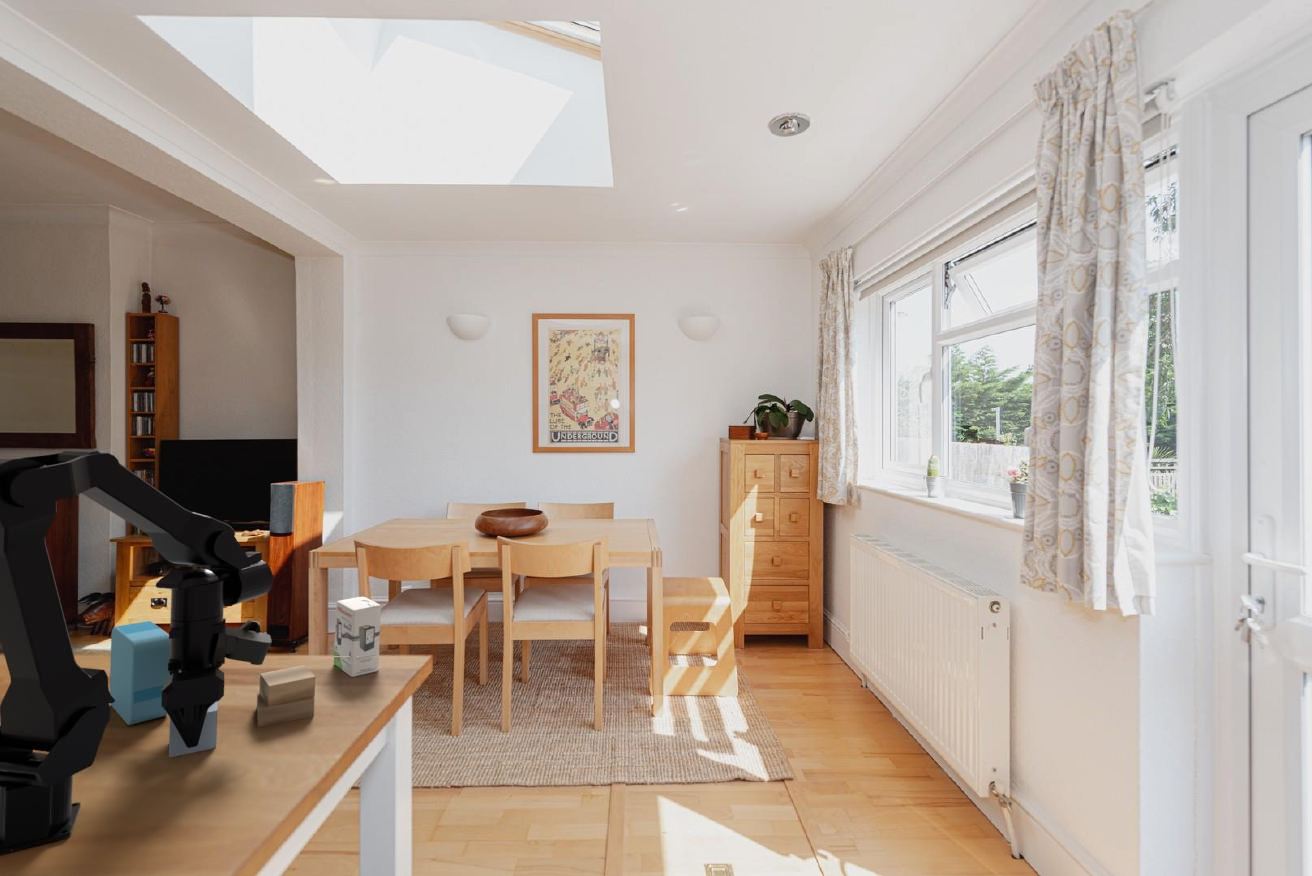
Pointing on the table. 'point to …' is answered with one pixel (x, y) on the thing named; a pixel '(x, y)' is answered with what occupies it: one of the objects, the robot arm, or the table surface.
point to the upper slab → (287, 685)
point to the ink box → (357, 636)
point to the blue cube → (206, 738)
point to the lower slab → (283, 711)
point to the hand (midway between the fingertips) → (193, 732)
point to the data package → (138, 671)
